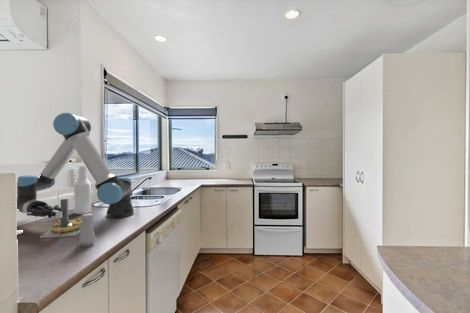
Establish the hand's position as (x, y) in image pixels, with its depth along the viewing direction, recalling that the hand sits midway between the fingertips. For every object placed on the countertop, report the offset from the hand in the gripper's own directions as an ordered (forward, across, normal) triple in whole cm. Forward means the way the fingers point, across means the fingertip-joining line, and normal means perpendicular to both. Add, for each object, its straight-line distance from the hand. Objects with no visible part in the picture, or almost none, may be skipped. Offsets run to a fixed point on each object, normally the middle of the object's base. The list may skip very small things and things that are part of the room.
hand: (61, 215), depth 103 cm
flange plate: (-5, -6, -10) cm, 12 cm away
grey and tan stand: (-5, -5, -8) cm, 11 cm away
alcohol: (-32, -27, -10) cm, 43 cm away
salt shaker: (+21, 0, -10) cm, 23 cm away
